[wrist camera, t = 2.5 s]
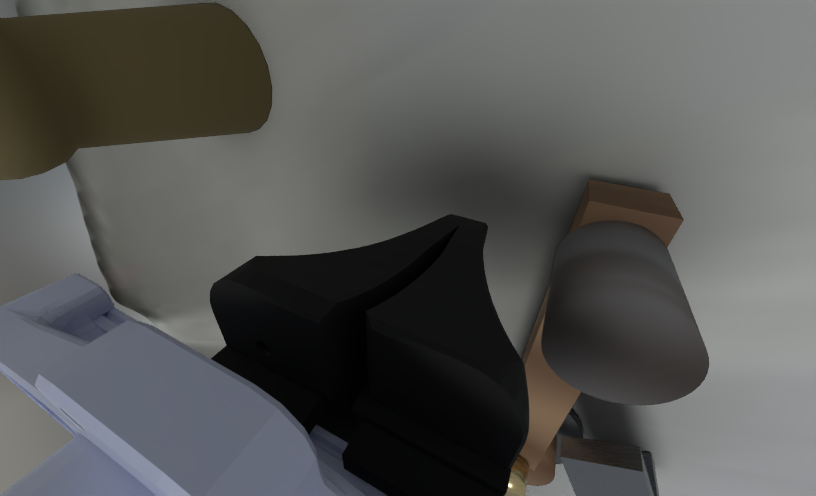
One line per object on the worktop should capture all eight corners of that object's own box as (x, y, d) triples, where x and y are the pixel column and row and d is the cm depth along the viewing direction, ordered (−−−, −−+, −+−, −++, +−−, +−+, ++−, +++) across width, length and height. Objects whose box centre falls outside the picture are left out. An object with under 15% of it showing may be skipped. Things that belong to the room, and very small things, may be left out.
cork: (280, 46, 15) (-120, 51, 6) (263, 153, 19) (2, 242, 10) (183, -25, 15) (-316, -109, 7) (186, 94, 19) (-126, 134, 11)
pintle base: (468, 428, 24) (448, 492, 20) (465, 363, 20) (441, 427, 17) (573, 468, 20) (571, 550, 17) (592, 400, 17) (592, 486, 14)
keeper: (592, 456, 19) (593, 538, 16) (565, 380, 17) (560, 456, 14) (654, 467, 17) (669, 561, 14) (631, 383, 15) (643, 472, 12)
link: (545, 461, 20) (533, 583, 16) (477, 429, 22) (448, 532, 17) (706, 200, 10) (806, 331, 5) (558, 173, 12) (539, 259, 7)
